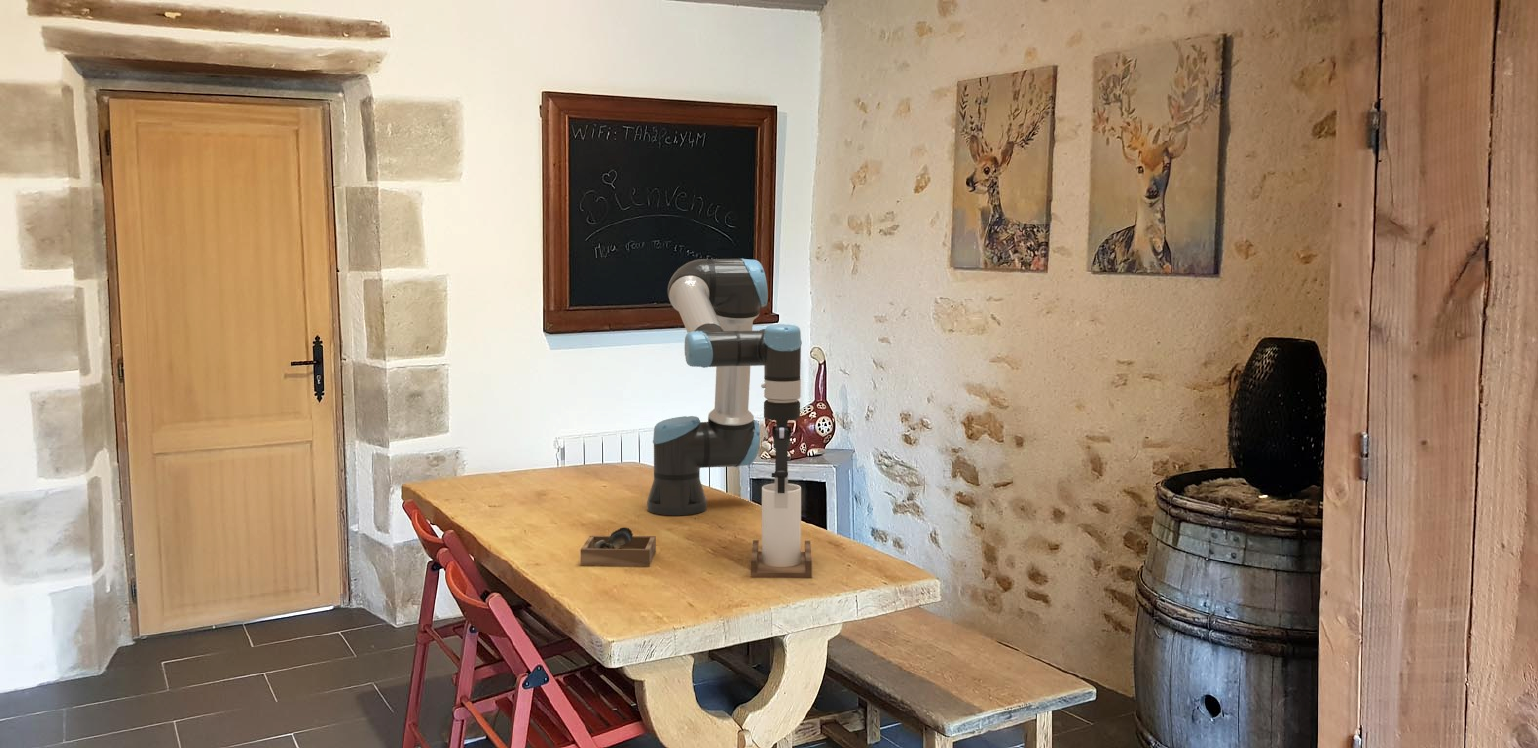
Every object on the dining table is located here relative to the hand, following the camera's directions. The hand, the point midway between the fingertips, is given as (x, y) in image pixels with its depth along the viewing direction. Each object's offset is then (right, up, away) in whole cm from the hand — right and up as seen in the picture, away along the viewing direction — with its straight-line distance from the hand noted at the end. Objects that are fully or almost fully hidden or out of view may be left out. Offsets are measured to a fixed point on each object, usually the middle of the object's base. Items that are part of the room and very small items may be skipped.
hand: (781, 500), depth 239 cm
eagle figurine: (-36, -14, +7) cm, 39 cm away
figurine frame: (-35, -13, +7) cm, 38 cm away
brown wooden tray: (0, -14, +1) cm, 14 cm away
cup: (0, -13, +1) cm, 13 cm away
